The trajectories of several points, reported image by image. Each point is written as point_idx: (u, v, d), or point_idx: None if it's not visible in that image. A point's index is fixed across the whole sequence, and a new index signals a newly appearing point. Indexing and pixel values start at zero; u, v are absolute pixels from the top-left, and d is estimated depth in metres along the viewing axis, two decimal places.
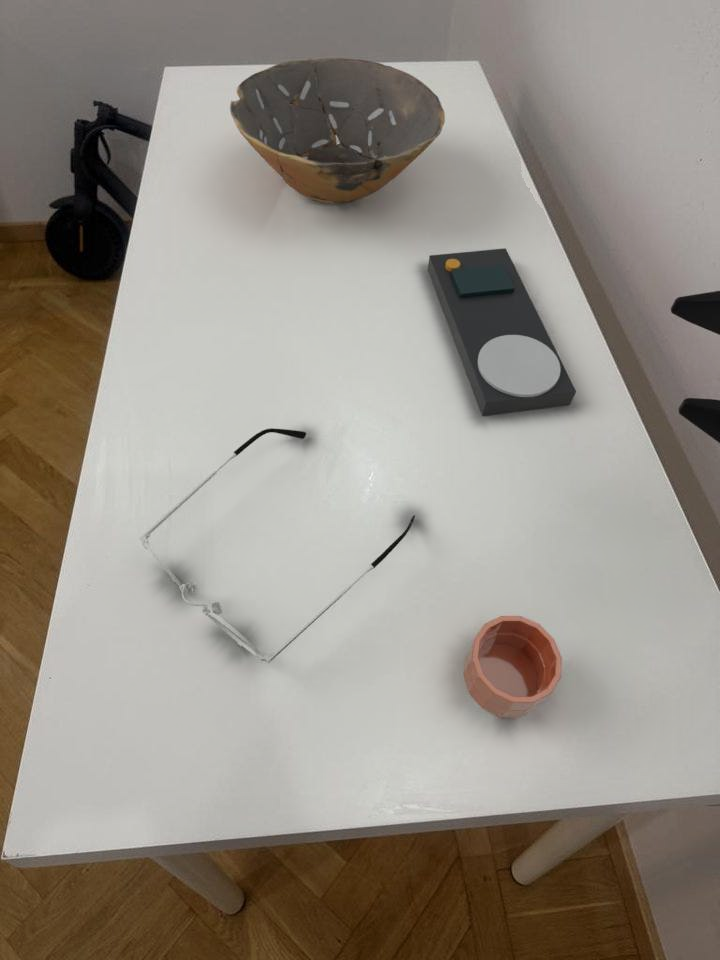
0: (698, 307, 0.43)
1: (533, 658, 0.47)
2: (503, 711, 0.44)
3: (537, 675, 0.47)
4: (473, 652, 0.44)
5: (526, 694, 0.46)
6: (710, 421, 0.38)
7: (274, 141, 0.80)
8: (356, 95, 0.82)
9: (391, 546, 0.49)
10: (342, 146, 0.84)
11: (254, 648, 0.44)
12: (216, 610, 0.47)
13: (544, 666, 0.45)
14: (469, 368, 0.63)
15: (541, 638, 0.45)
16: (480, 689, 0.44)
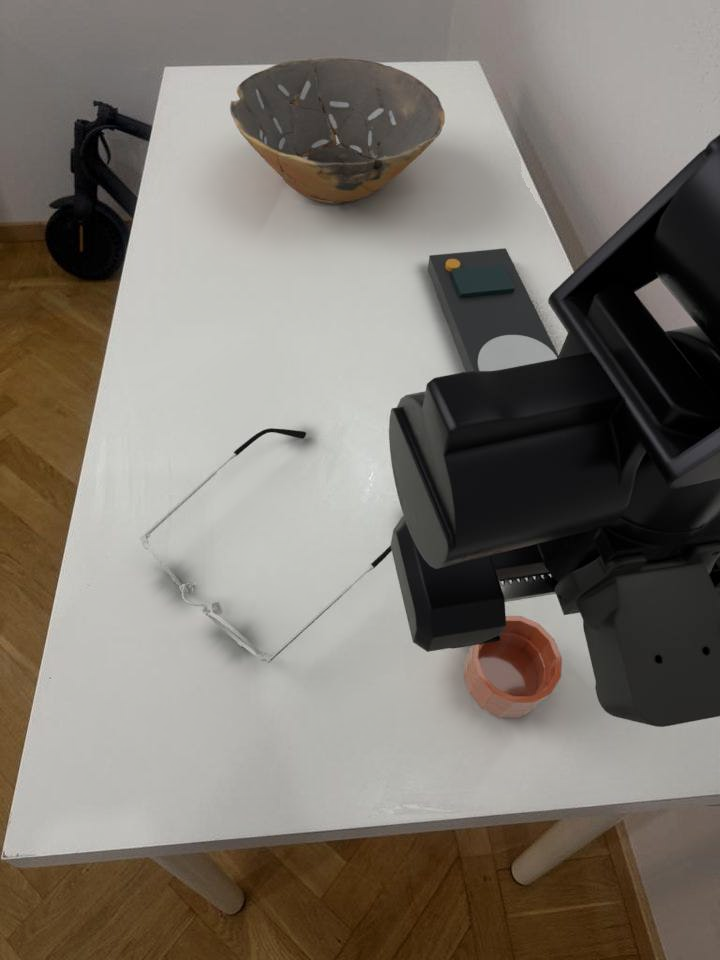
0: None
1: (533, 658, 0.47)
2: (503, 711, 0.44)
3: (537, 675, 0.47)
4: (473, 652, 0.44)
5: (526, 694, 0.46)
6: None
7: (274, 141, 0.80)
8: (356, 95, 0.82)
9: None
10: (342, 146, 0.84)
11: (254, 648, 0.44)
12: (216, 610, 0.47)
13: (544, 666, 0.45)
14: (469, 368, 0.63)
15: (541, 638, 0.45)
16: (480, 689, 0.44)
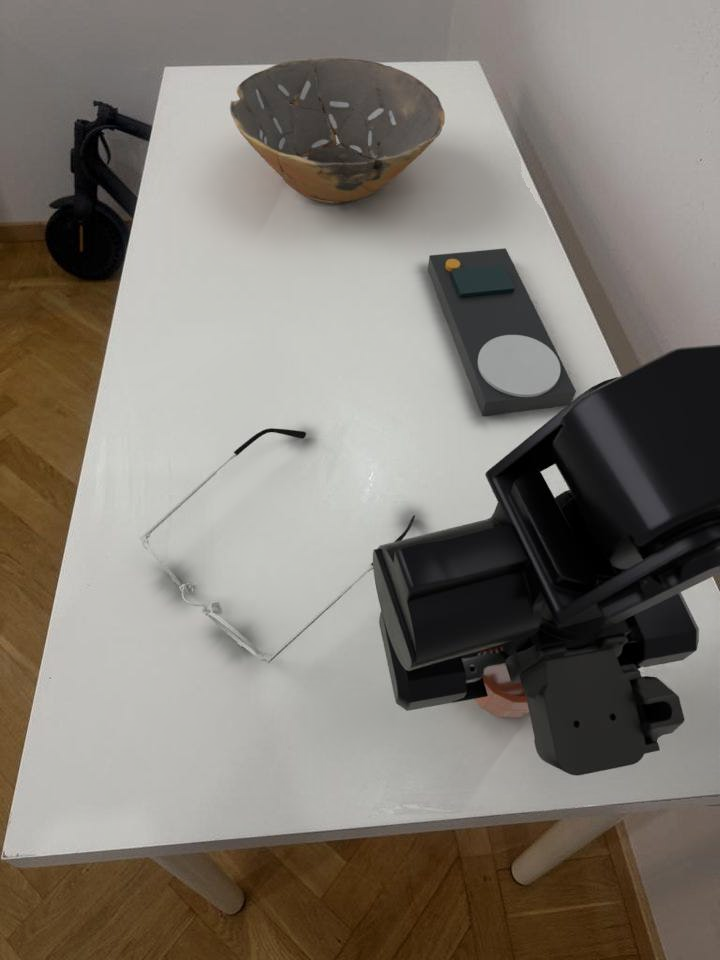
0: None
1: None
2: (503, 711, 0.44)
3: None
4: None
5: None
6: None
7: (274, 141, 0.80)
8: (356, 95, 0.82)
9: None
10: (342, 146, 0.84)
11: (254, 648, 0.44)
12: (216, 610, 0.47)
13: None
14: (469, 368, 0.63)
15: None
16: None
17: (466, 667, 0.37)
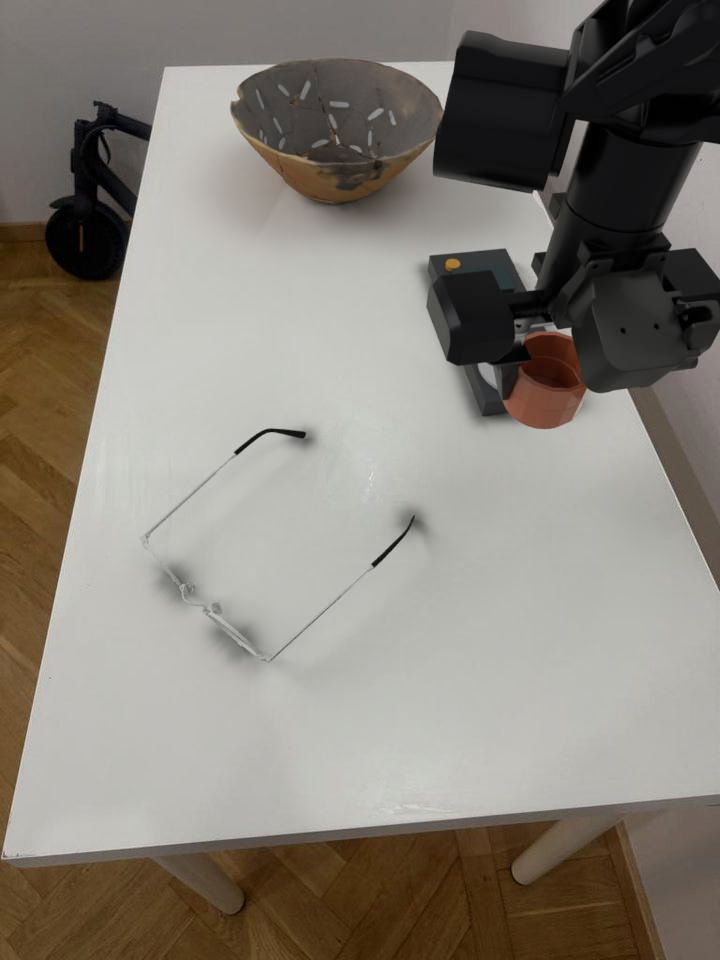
0: None
1: (567, 381, 0.49)
2: (541, 414, 0.46)
3: None
4: None
5: None
6: None
7: (274, 141, 0.80)
8: (356, 95, 0.82)
9: (391, 546, 0.49)
10: (342, 146, 0.84)
11: (254, 648, 0.44)
12: (216, 610, 0.47)
13: (578, 379, 0.47)
14: (469, 368, 0.63)
15: None
16: (519, 392, 0.46)
17: None
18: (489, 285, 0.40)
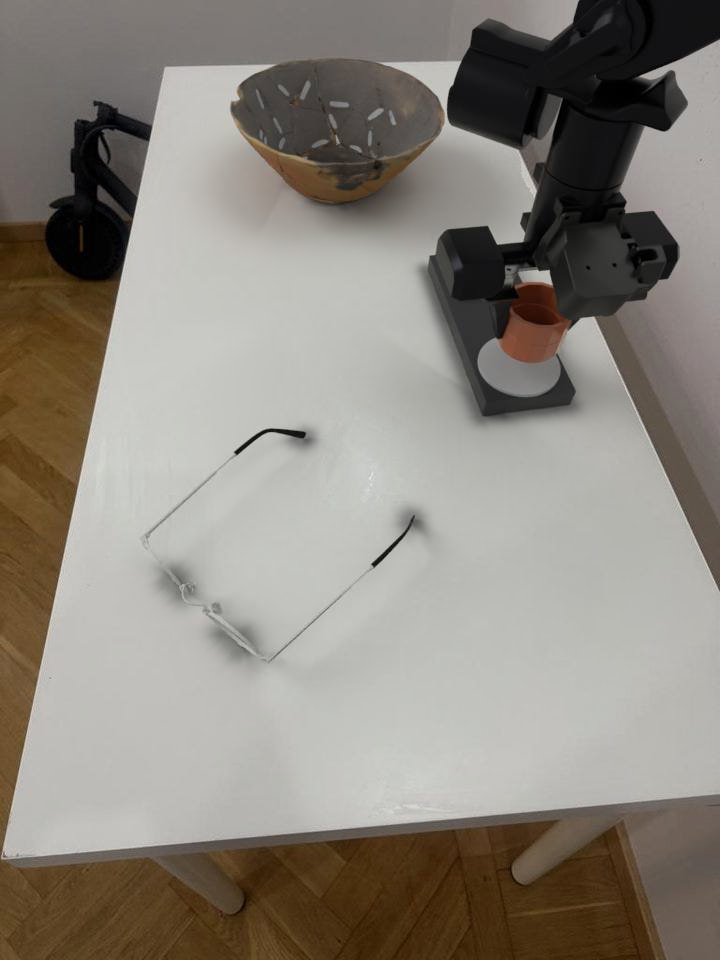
0: None
1: (551, 325, 0.59)
2: (529, 349, 0.56)
3: None
4: None
5: None
6: None
7: (274, 141, 0.80)
8: (356, 95, 0.82)
9: (391, 546, 0.49)
10: (342, 146, 0.84)
11: (254, 648, 0.44)
12: (216, 610, 0.47)
13: (560, 322, 0.57)
14: (469, 368, 0.63)
15: None
16: (511, 330, 0.56)
17: None
18: (485, 237, 0.50)
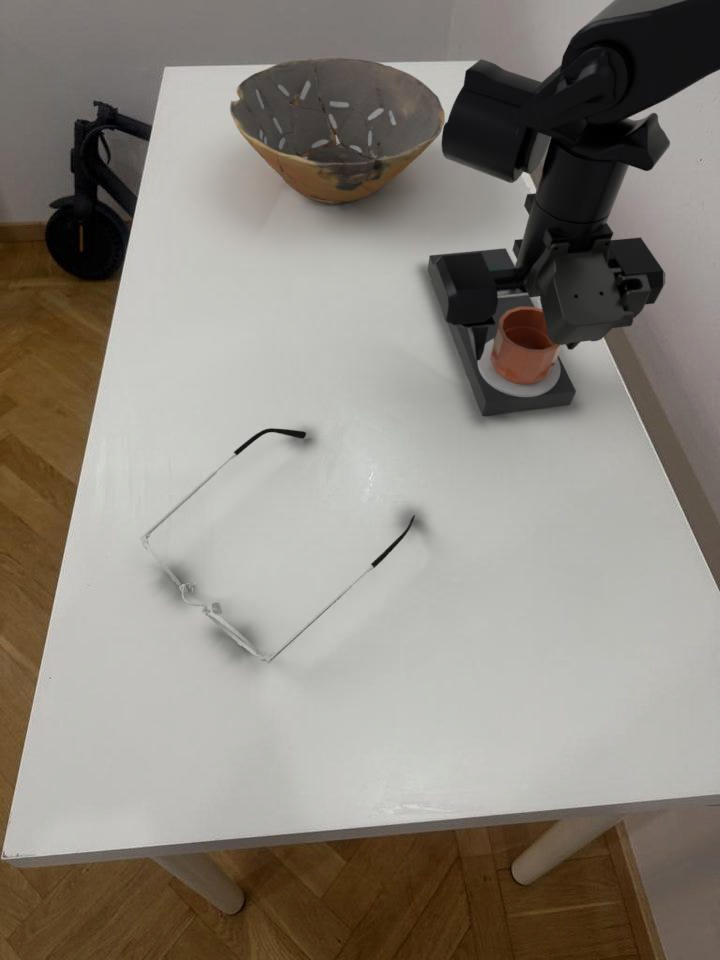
0: None
1: (543, 347, 0.61)
2: (521, 371, 0.58)
3: None
4: (498, 326, 0.58)
5: None
6: None
7: (274, 141, 0.80)
8: (356, 95, 0.82)
9: (391, 546, 0.49)
10: (342, 146, 0.84)
11: (254, 648, 0.44)
12: (216, 610, 0.47)
13: (551, 345, 0.60)
14: (469, 368, 0.63)
15: None
16: (504, 354, 0.58)
17: None
18: (479, 264, 0.52)
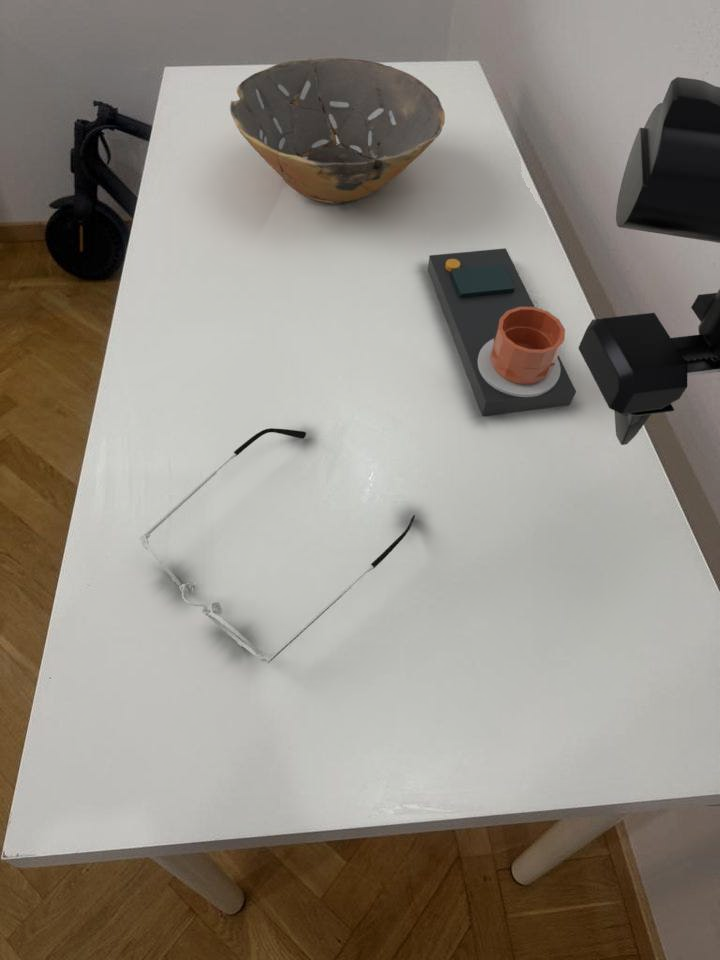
0: None
1: (543, 347, 0.61)
2: (521, 371, 0.58)
3: None
4: (498, 326, 0.58)
5: None
6: None
7: (274, 141, 0.80)
8: (356, 95, 0.82)
9: (391, 546, 0.49)
10: (342, 146, 0.84)
11: (254, 648, 0.44)
12: (216, 610, 0.47)
13: (551, 345, 0.60)
14: (469, 368, 0.63)
15: (549, 322, 0.59)
16: (504, 354, 0.58)
17: None
18: (655, 329, 0.38)
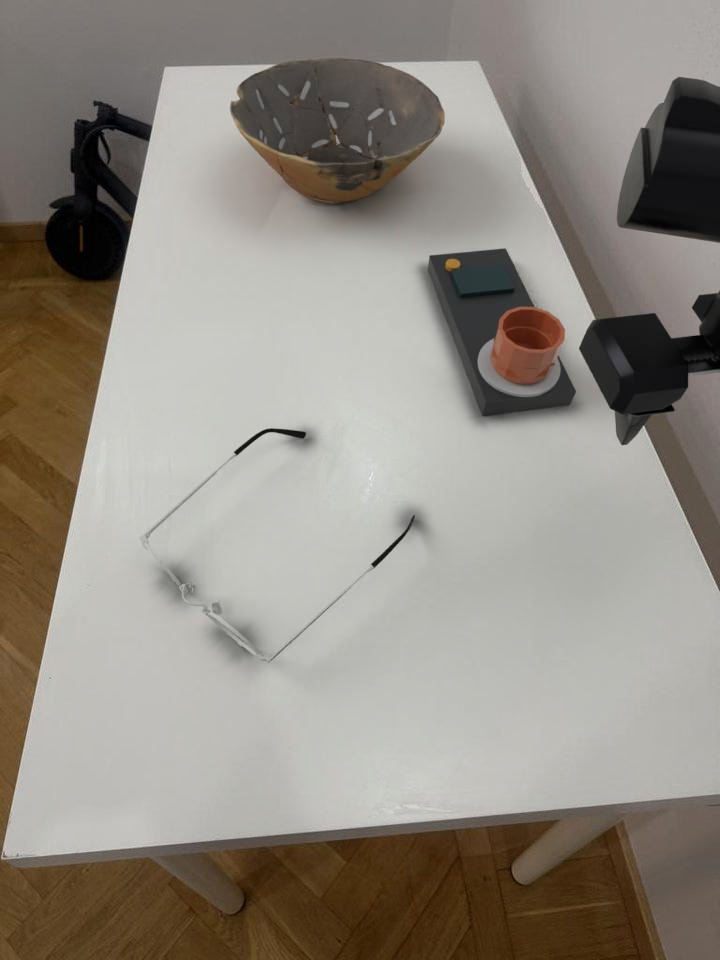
0: None
1: (543, 347, 0.61)
2: (521, 371, 0.58)
3: None
4: (498, 326, 0.58)
5: None
6: None
7: (274, 141, 0.80)
8: (356, 95, 0.82)
9: (391, 546, 0.49)
10: (342, 146, 0.84)
11: (254, 648, 0.44)
12: (216, 610, 0.47)
13: (551, 345, 0.60)
14: (469, 368, 0.63)
15: (549, 322, 0.59)
16: (504, 354, 0.58)
17: None
18: (656, 330, 0.38)
